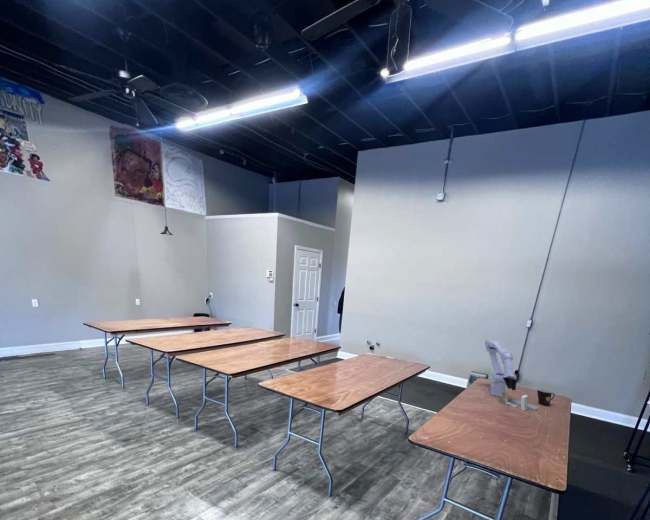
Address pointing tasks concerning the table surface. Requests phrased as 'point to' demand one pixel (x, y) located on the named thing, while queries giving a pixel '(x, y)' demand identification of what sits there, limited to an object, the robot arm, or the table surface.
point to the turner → (506, 399)
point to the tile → (524, 402)
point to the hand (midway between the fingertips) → (511, 389)
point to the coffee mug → (544, 397)
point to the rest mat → (528, 404)
